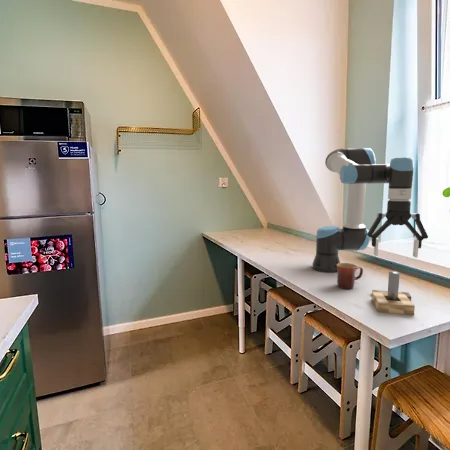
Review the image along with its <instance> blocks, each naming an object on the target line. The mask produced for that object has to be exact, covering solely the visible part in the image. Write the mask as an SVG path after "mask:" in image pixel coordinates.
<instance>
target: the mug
mask: <svg viewBox="0 0 450 450" xmlns="http://www.w3.org/2000/svg"><path fill="white" fill-rule="evenodd" d="M336 266H337V270H338V271H337V279H336V283H337V286H338V288H340V289H343V290H344V289H345V290H350V289H353V288H354V286H355V284H356V283H355V281H357V280H359V279H361V277H362V276H363V274H364V269H363V268H362V267H361V266H358V265H356V264H354V263H348V262H340V263H338V264H336ZM358 269H359V274H358V275H357V276H355V274H356V270H358Z"/></svg>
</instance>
